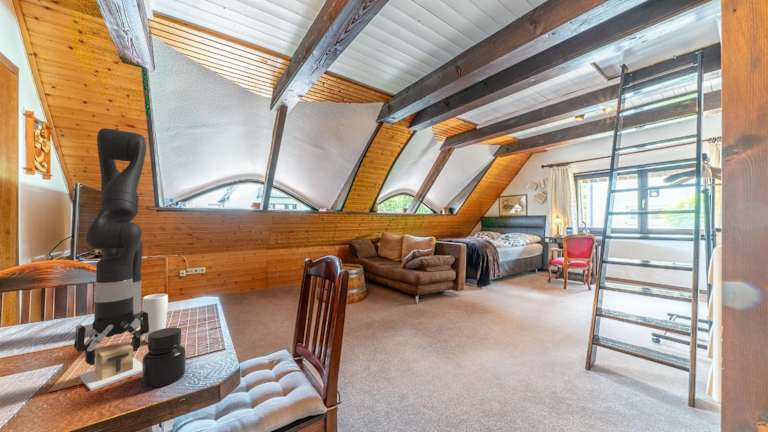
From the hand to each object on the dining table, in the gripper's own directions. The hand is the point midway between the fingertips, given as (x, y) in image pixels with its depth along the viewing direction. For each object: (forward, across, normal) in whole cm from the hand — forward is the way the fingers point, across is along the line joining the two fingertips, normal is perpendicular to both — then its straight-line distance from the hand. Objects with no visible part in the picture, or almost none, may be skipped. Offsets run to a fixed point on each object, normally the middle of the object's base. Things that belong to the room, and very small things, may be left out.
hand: (114, 357), depth 75 cm
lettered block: (+4, 0, 0) cm, 4 cm away
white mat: (+4, 0, 0) cm, 4 cm away
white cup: (+5, -14, -15) cm, 21 cm away
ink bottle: (+4, -6, +14) cm, 16 cm away
